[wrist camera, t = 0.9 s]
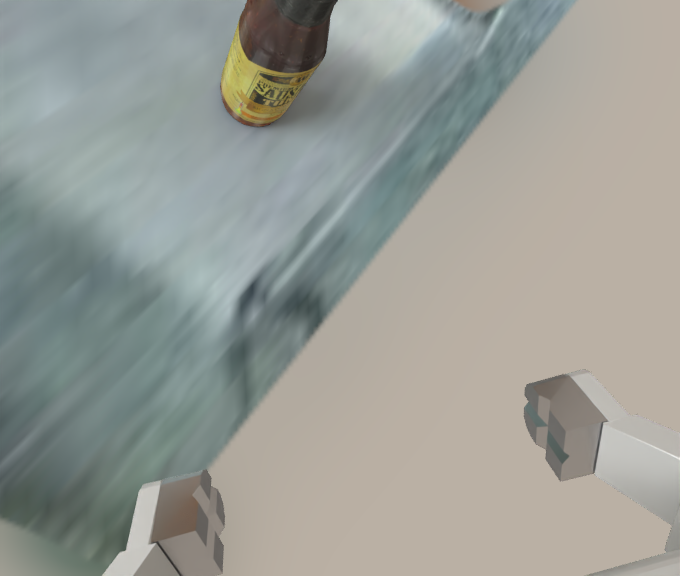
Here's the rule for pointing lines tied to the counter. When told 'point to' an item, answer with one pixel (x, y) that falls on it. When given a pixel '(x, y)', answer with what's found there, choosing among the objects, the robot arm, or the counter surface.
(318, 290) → the counter surface
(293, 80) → the sauce bottle
